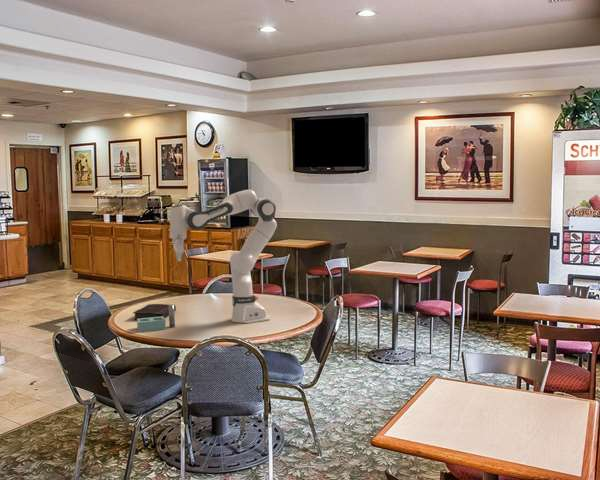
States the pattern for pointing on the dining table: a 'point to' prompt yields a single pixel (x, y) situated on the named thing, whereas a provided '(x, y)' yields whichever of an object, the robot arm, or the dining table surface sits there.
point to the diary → (153, 311)
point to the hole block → (151, 324)
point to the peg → (171, 316)
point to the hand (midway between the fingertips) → (178, 260)
